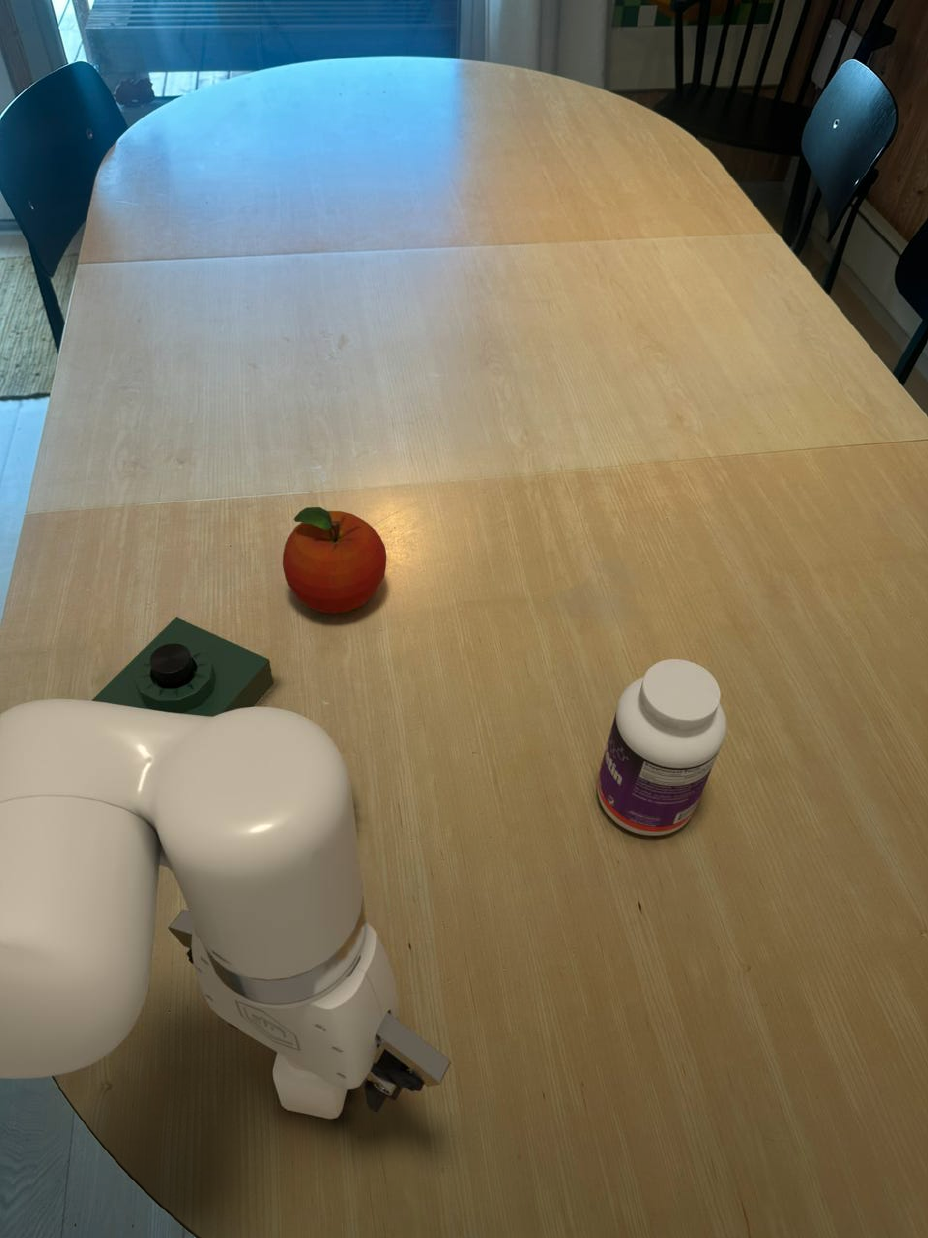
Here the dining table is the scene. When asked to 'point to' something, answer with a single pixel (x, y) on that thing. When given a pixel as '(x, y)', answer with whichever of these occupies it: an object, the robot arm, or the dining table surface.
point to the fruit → (333, 560)
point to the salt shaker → (306, 1090)
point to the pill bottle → (662, 748)
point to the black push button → (172, 665)
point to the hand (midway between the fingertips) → (316, 1045)
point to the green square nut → (216, 684)
